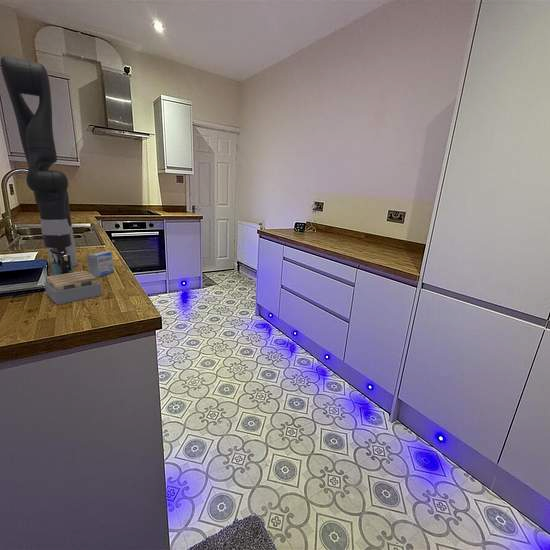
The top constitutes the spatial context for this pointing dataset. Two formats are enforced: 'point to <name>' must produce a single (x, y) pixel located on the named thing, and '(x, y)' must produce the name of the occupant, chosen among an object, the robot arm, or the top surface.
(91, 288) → the platform
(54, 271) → the teal upright block
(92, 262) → the medicine box
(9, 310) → the top surface
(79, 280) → the pallet
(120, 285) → the top surface
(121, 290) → the top surface
